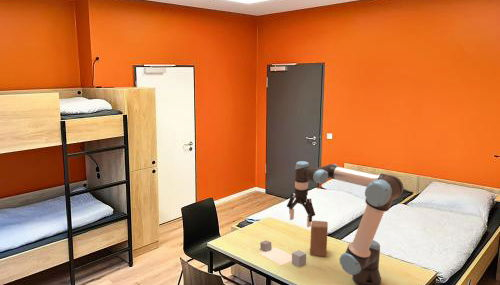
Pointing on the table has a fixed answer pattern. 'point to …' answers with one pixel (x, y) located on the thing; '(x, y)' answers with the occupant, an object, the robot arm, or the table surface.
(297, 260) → the slate cube
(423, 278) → the table surface
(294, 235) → the table surface
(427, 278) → the table surface
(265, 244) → the grey cube
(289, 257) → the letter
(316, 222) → the wooden block
